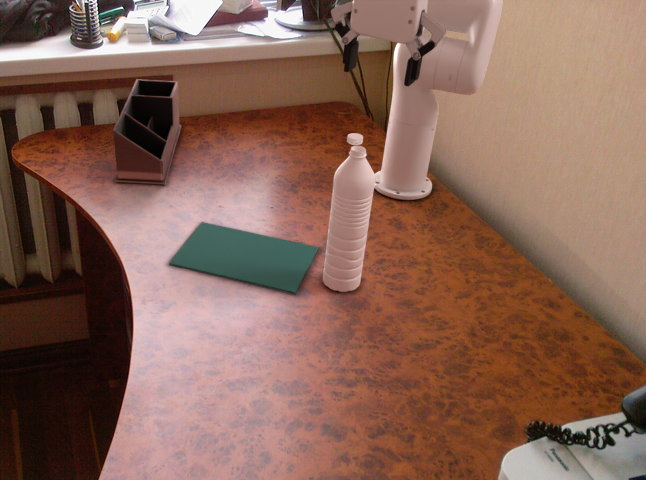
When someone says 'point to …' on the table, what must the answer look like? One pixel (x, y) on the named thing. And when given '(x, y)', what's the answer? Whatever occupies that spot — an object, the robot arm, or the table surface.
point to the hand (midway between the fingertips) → (379, 76)
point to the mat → (246, 257)
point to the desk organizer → (147, 132)
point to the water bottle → (349, 219)
